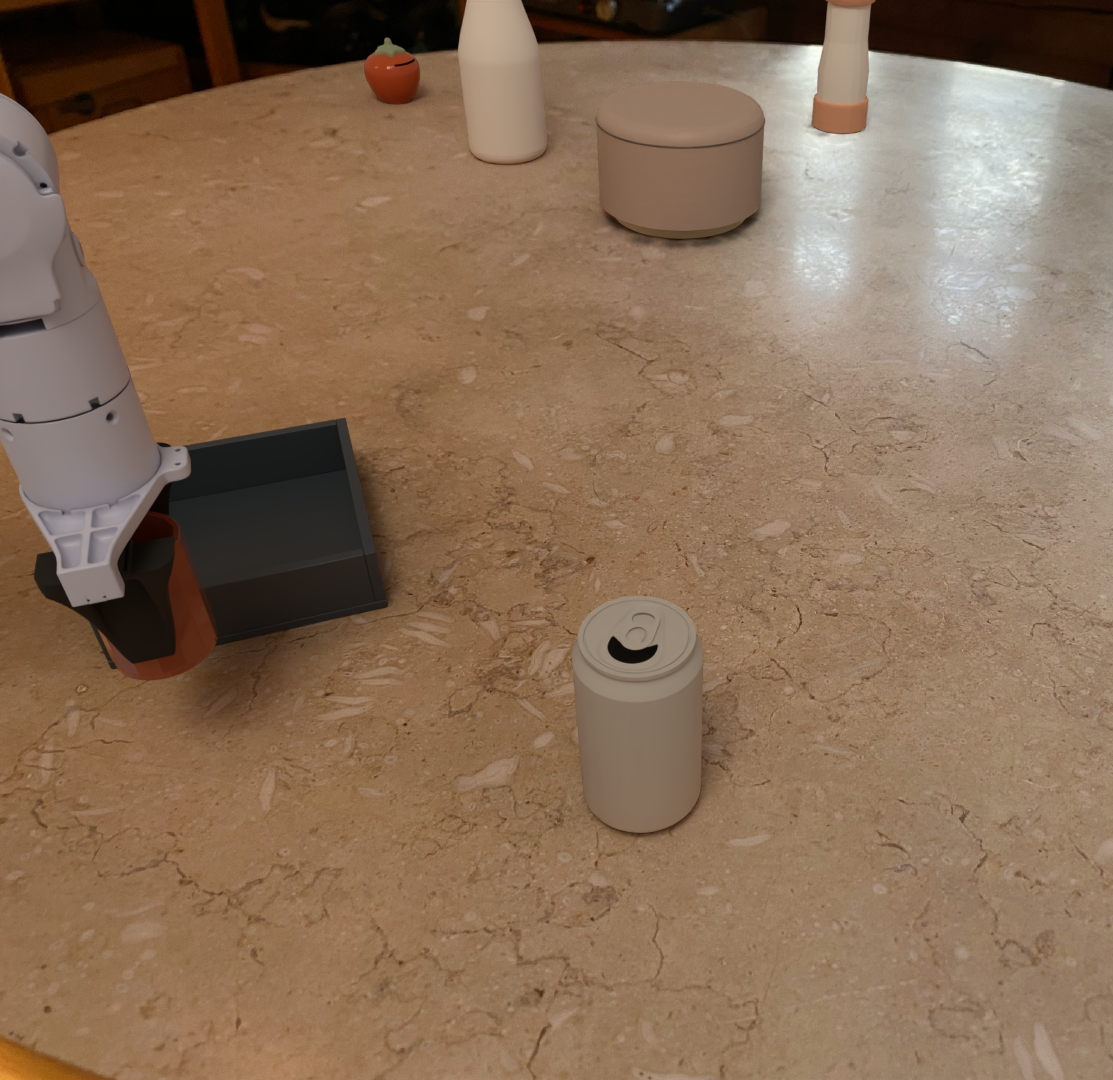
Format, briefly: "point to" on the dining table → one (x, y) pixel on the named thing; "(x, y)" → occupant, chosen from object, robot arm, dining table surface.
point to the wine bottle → (501, 82)
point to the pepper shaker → (843, 68)
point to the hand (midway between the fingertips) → (154, 618)
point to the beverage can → (639, 712)
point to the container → (680, 158)
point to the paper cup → (174, 609)
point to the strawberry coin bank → (392, 73)
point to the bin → (277, 530)
